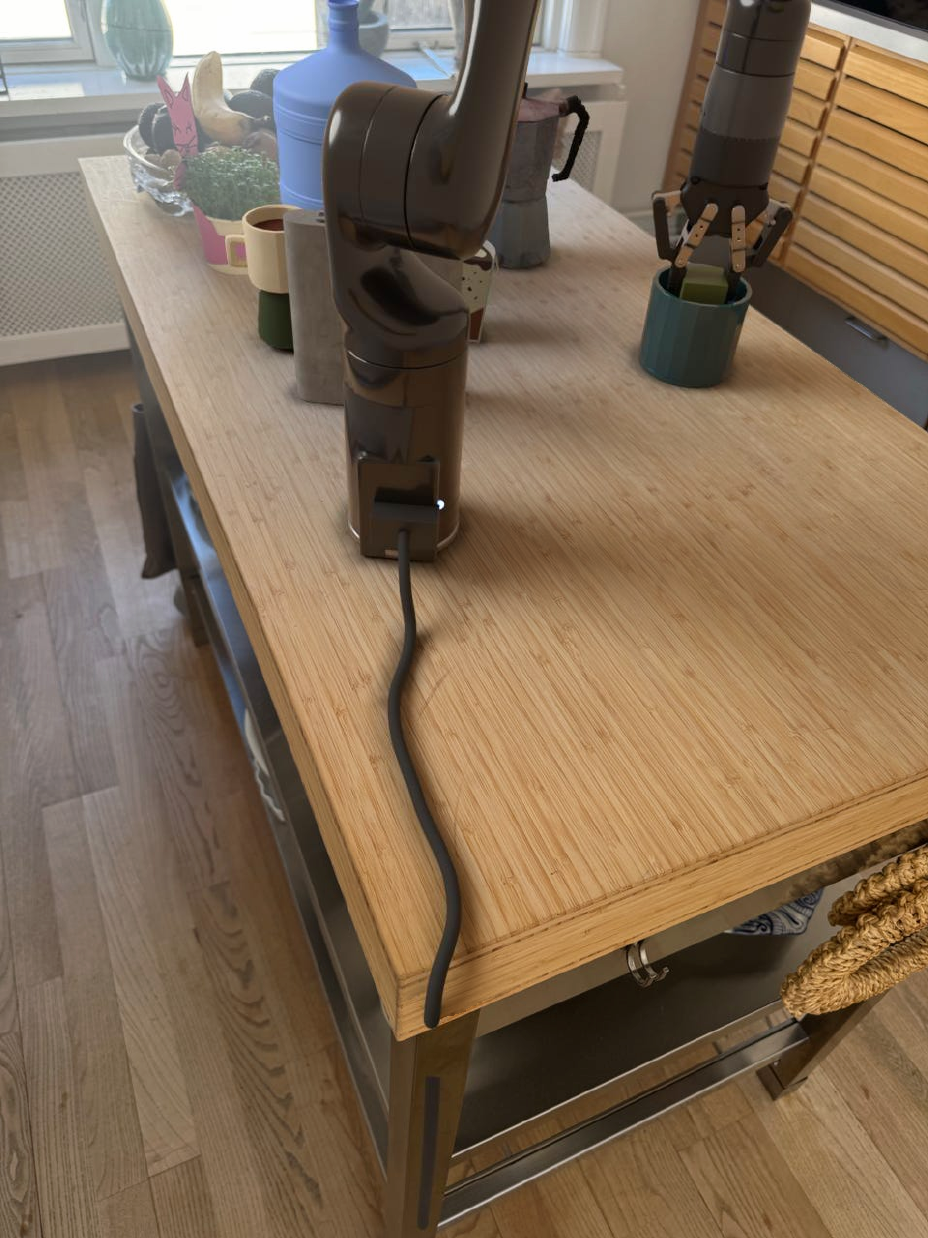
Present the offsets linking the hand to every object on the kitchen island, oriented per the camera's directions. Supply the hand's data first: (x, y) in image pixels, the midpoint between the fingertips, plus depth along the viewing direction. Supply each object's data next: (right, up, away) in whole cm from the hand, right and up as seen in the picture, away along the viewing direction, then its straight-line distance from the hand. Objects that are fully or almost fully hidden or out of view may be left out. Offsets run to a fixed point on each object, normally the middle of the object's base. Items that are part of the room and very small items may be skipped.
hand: (698, 299), depth 97 cm
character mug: (-43, -3, +4) cm, 44 cm away
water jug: (-38, +9, +17) cm, 43 cm away
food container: (-27, 0, +8) cm, 28 cm away
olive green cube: (0, 0, 0) cm, 0 cm away
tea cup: (0, -5, +5) cm, 7 cm away
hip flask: (-33, -11, -3) cm, 35 cm away
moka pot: (-18, +14, +23) cm, 32 cm away
